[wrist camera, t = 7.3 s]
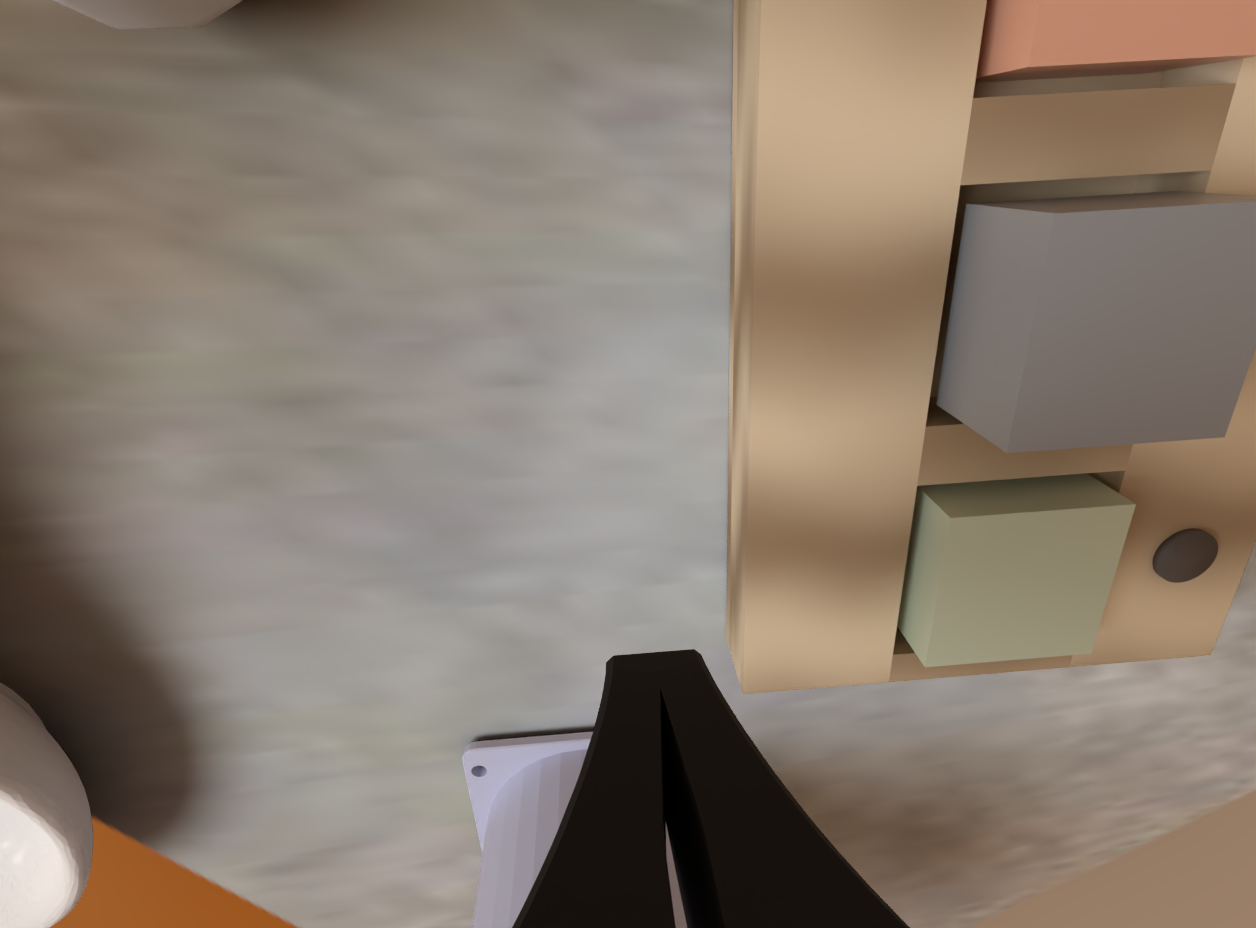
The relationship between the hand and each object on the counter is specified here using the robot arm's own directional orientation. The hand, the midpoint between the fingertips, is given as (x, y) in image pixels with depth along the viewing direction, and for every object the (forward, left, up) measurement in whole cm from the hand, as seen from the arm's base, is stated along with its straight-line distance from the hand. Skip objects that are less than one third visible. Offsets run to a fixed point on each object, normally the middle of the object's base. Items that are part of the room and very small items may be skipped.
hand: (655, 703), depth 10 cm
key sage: (-3, -10, -9) cm, 14 cm away
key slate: (+4, -10, -7) cm, 13 cm away
